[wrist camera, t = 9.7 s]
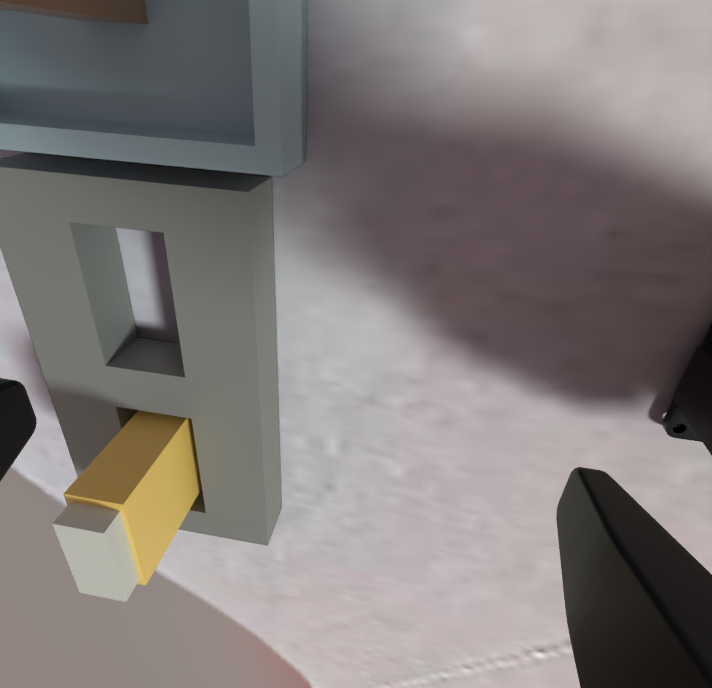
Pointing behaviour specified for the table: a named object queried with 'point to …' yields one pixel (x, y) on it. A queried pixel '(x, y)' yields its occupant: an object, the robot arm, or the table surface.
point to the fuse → (129, 504)
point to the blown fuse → (83, 9)
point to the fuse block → (192, 307)
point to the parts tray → (161, 85)
